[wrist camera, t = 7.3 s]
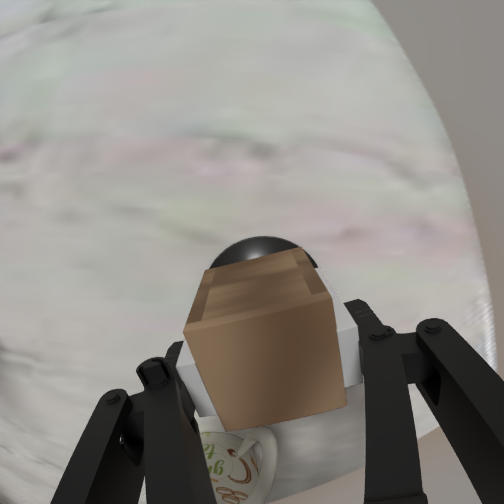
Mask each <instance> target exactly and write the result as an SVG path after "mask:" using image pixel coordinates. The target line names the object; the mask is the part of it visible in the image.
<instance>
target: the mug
mask: <svg viewBox="0 0 504 504" xmlns="http://www.w3.org/2000/svg"><path fill="white" fill-rule="evenodd" d="M200 437H201V441H202V446H203V450H204V454H205V458H206V463H207V467H208V471H209V475H210V479H211V482H212V486H213V490H214V494H215V498H216V501H217V504H265V501H266V499H267V497H268V495H269V493H270V490H271V488H272V485H273V481H274V478H275V474H276V469H277V463H278V444H277V440H276V437H275V435H274V433H273V431H272V430H270V429H269V428H267V427H260V428H256V429H253V430H252V431H250V432H249V433H248V435H247V436H246V438H245V439H244V440H242V439H241V438H239V437H236V436H233V435H230V434H226V433H219V432H206V433H200ZM257 441H258V442H259V443H260V444H261V447H262V454H263V456H262V466H261V470H260V474H259V473H258V469H257V464H256V459H255V455H254V451H253V449H252V446H253V445H254V444H255V443H256V442H257Z"/></svg>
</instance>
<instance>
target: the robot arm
mask: <svg viewBox="0 0 504 504" xmlns="http://www.w3.org/2000/svg"><path fill="white" fill-rule="evenodd" d="M315 270H316V272H317V273H318V275H319V277H320V278H321V280H322V282H323V283H324V285H325V287H326V288H327V290H328V292H329V293H330V295H331V297H332V300H333V306H334V312H335V318H336V325H337V330H336V332H337V338H338V345H339V352H340V360H341V367H342V375H343V383H344V387H345V388H346V387H350V386H353V385H357V384H360V383H363V378H362V374H363V376H364V384H365V414H366V466H365V494H364V504H428V499H427V496H426V494H425V493H423V488H422V479H421V469H420V460H419V452H418V444H417V437H416V430H415V424H414V418H413V412H412V406H411V400H410V395H409V390H408V384H413V383H415V384H416V386H417V388H418V390H419V391H420V393H421V395H422V396H423V398H424V400H425V401H426V403H427V405H428V406H429V408H430V410H431V411H432V413H433V415H434V416H435V418H436V420H437V421H438V423H439V425H440V427H441V428H442V430H443V432H444V433H445V435H446V437H447V439H448V441H449V442H450V444H451V446H452V447H453V449H454V451H455V453H456V455H457V457H458V458H459V460H460V462H461V464H462V466H463V468H464V469H465V471H466V473H467V475H468V477H469V479H470V481H471V483H472V485H473V487H474V489H475V490H476V492H477V494H478V496H479V498H480V500H481V502H482V504H504V381H503V380H502V379H501V378H500V376H499V375H498V374H497V373H496V372H495V371H494V370H493V369H492V368H491V367H490V366H489V365H488V363H487V362H486V361H485V360H484V359H483V358H482V357H481V356H480V355H479V354H478V353H477V352H476V351H475V350H474V349H473V348H472V347H471V346H470V345H469V344H468V343H467V342H466V341H465V340H464V339H463V338H462V336H461V335H460V334H459V333H458V332H457V331H456V330H455V329H454V328H453V327H452V326H451V325H449V324H448V323H447V322H446V321H444V320H442V319H438V318H430V319H426V320H424V321H422V322H420V323H419V324H418V325H417V328H416V332H413V333H404V334H399V333H396V332H395V330H394V329H393V328H392V327H390V326H385V325H383V324H382V323H381V321H380V320H379V319H378V317H377V316H376V315H375V313H373V311H372V310H371V309H370V307H369V306H368V304H367V303H366V302H364V301H362V300H360V299H356V300H353V301H349V302H346V303H343V302H342V300H341V299H340V297H339V296H338V294H337V293H336V291H335V289H334V288H333V286H332V285H331V283H330V282H329V280H328V278H327V277H326V275H325V274H324V272H323V271H322V269H321V268H320V267H319V268H315ZM136 372H137V374H138V376H139V378H140V380H141V382H142V384H143V386H144V391H143V392H140V393H137V394H134V395H131V396H128V394H127V392H126V391H125V390H123V389H114V390H110V391H108V392H106V393H105V394H104V395H103V396H102V397H101V398H100V400H99V402H98V404H97V406H96V408H95V410H94V412H93V414H92V416H91V418H90V419H89V421H88V424H87V426H86V428H85V430H84V432H83V434H82V436H81V438H80V440H79V442H78V444H77V446H76V448H75V450H74V452H73V454H72V457H71V459H70V461H69V463H68V465H67V467H66V470H65V472H64V474H63V476H62V478H61V481H60V483H59V485H58V487H57V490H56V492H55V494H54V496H53V499H52V501H51V503H50V504H138V501H139V497H140V493H141V489H142V485H143V481H144V477H145V485H146V501H147V504H217V501H216V498H215V494H214V490H213V486H212V482H211V479H210V475H209V471H208V467H207V463H206V458H205V454H204V450H203V446H202V441H201V437H200V432H199V428H198V423H197V421H196V419H195V418H194V412H195V409H196V411H197V413H198V415H199V417H206V416H213V415H217V410H216V408H215V406H214V404H213V402H212V399H211V397H210V395H209V393H208V390H207V388H206V386H205V383H204V381H203V379H202V376H201V374H200V372H199V369H198V367H197V365H196V362H195V361H194V359H193V356H192V354H191V352H190V349H189V347H188V344H187V342H186V339H184V341H179V342H174V343H173V344H172V345H171V346H170V347H169V348H168V351H167V353H166V356H165V358H163V357H154V358H150V359H148V360H146V361H144V362H143V363H141V364H140V365H139V366H138V367H137V369H136ZM120 437H121V441H120Z"/></svg>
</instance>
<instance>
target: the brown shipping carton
mask: <svg viewBox="0 0 504 504" xmlns="http://www.w3.org/2000/svg"><path fill="white" fill-rule="evenodd" d="M336 330H337V325H336V318H335V312H334V306H333V300H332V297H331V295H330V293H329V292H328V290H327V288H326V287H325V285H324V283H323V282H322V280H321V278H320V277H319V275H318V273H317V272H316V270H315V268H314V267H313V265H312V263H311V262H310V260H309V258H308V257H307V255H306V254H305V252H304V250H303V249H302V247H298V248H294V249H290V250H286V251H282V252H277V253H273V254H269V255H265V256H261V257H257V258H253V259H249V260H245V261H241V262H237V263H233V264H228V265H224V266H220V267H216V268H212V269H208V270H205V272H204V275H203V277H202V280H201V283H200V286H199V288H198V291H197V294H196V297H195V299H194V302H193V305H192V308H191V311H190V313H189V316H188V319H187V322H186V325H185V328H184V330H183V334H184V336H185V339H186V342H187V344H188V347H189V349H190V352H191V354H192V356H193V359H194V361H195V362H196V365H197V367H198V369H199V372H200V374H201V376H202V379H203V381H204V383H205V386H206V388H207V390H208V393H209V395H210V397H211V399H212V402H213V404H214V406H215V408H216V410H217V414H218V416H219V418H220V420H221V423H222V425H223V427H224V429H225V431H233V430H240V429H246V428H252V427H258V426H263V425H269V424H274V423H279V422H284V421H289V420H293V419H298V418H302V417H306V416H311V415H315V414H319V413H323V412H326V411H330V410H334V409H338V408H341V407H345V406H347V402H346V393H345V387H344V383H343V375H342V367H341V360H340V352H339V345H338V338H337V332H336Z"/></svg>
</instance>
